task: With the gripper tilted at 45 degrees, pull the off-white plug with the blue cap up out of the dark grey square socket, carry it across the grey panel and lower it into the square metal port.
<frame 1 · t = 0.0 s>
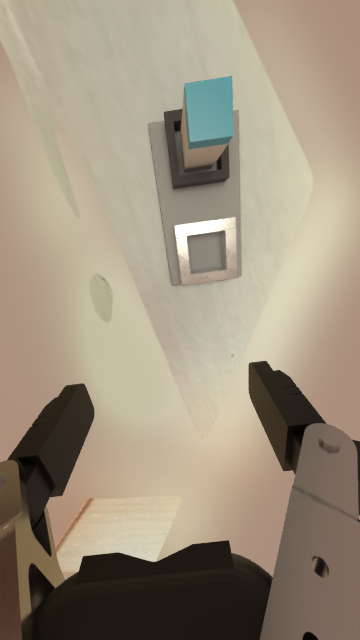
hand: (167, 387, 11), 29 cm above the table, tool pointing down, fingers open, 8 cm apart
plug: (196, 153, 30), point 1 cm above the table, touching panel
panel: (199, 210, 34), on the table
port: (203, 250, 36), resting on panel
dark grey square socket: (195, 155, 31), resting on panel
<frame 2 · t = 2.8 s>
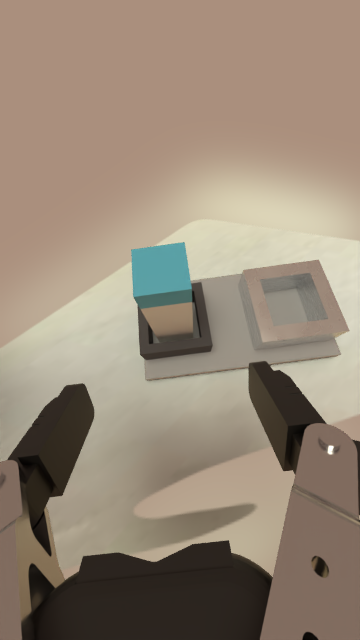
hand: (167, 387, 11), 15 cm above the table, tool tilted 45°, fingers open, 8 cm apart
plug: (174, 325, 26), point 1 cm above the table, touching panel
panel: (230, 320, 27), on the table
port: (277, 314, 27), resting on panel
dark grey square socket: (175, 328, 27), resting on panel
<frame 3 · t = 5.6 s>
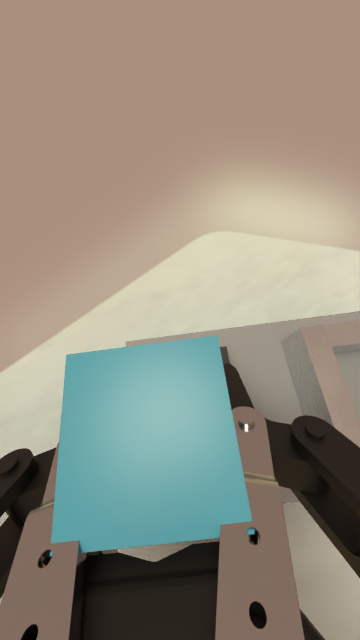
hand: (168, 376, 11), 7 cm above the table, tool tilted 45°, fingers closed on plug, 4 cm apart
plug: (180, 412, 16), point 1 cm above the table, touching gripper, panel
panel: (269, 400, 17), on the table
port: (347, 391, 17), resting on panel
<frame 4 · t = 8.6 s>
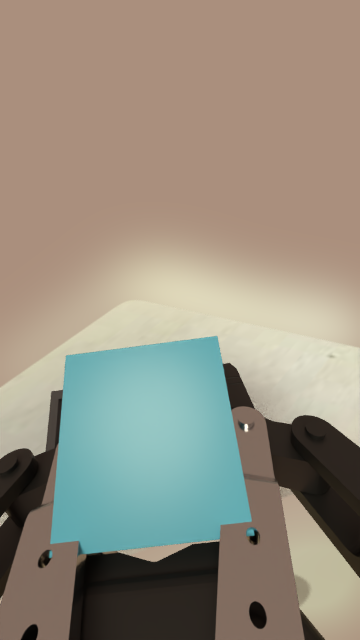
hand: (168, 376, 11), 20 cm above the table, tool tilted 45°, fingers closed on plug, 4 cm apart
plug: (180, 412, 16), point 15 cm above the table, touching gripper
dark grey square socket: (93, 418, 30), resting on panel
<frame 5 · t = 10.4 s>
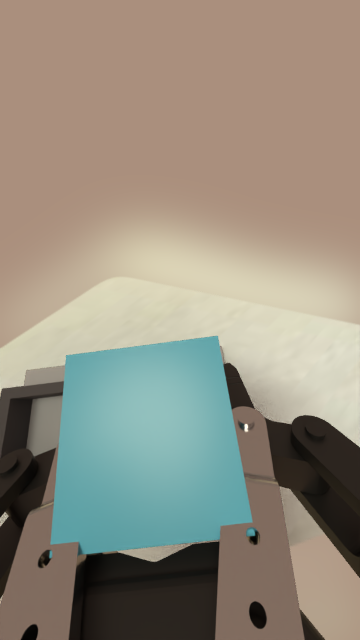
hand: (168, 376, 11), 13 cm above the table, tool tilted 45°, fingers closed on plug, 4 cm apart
plug: (180, 412, 16), point 7 cm above the table, touching gripper
panel: (126, 416, 23), on the table
dark grey square socket: (61, 424, 23), resting on panel
when the fingers open (8 cm above the table, at t = 11.9 s): plug drops 1 cm, resting on panel.
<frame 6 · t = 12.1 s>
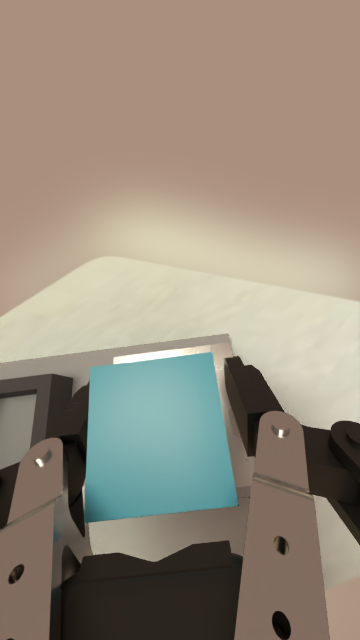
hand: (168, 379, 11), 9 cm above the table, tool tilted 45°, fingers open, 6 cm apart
plug: (181, 412, 17), point 1 cm above the table, touching panel
panel: (112, 419, 18), on the table
port: (181, 411, 18), resting on panel
dark grey square socket: (33, 429, 19), resting on panel
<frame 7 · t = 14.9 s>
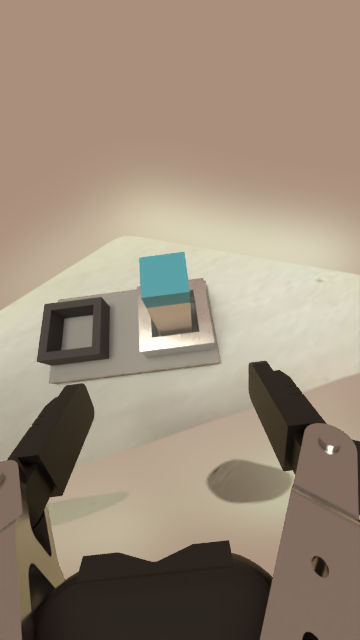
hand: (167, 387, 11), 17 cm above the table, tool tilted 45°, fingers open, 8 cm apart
plug: (175, 323, 29), point 1 cm above the table, touching panel
panel: (134, 330, 30), on the table
port: (176, 325, 30), resting on panel
dark grey square socket: (85, 336, 31), resting on panel
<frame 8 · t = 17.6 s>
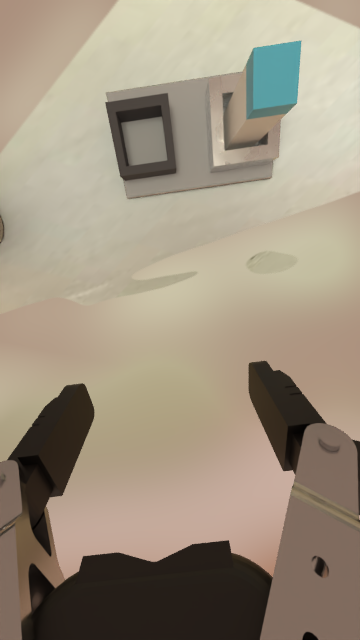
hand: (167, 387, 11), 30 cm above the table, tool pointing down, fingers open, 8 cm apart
plug: (237, 132, 30), point 1 cm above the table, touching panel
panel: (194, 140, 31), on the table
port: (236, 134, 31), resting on panel
dark grey square socket: (146, 147, 31), resting on panel
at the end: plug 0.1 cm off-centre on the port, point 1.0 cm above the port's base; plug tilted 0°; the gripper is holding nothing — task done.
